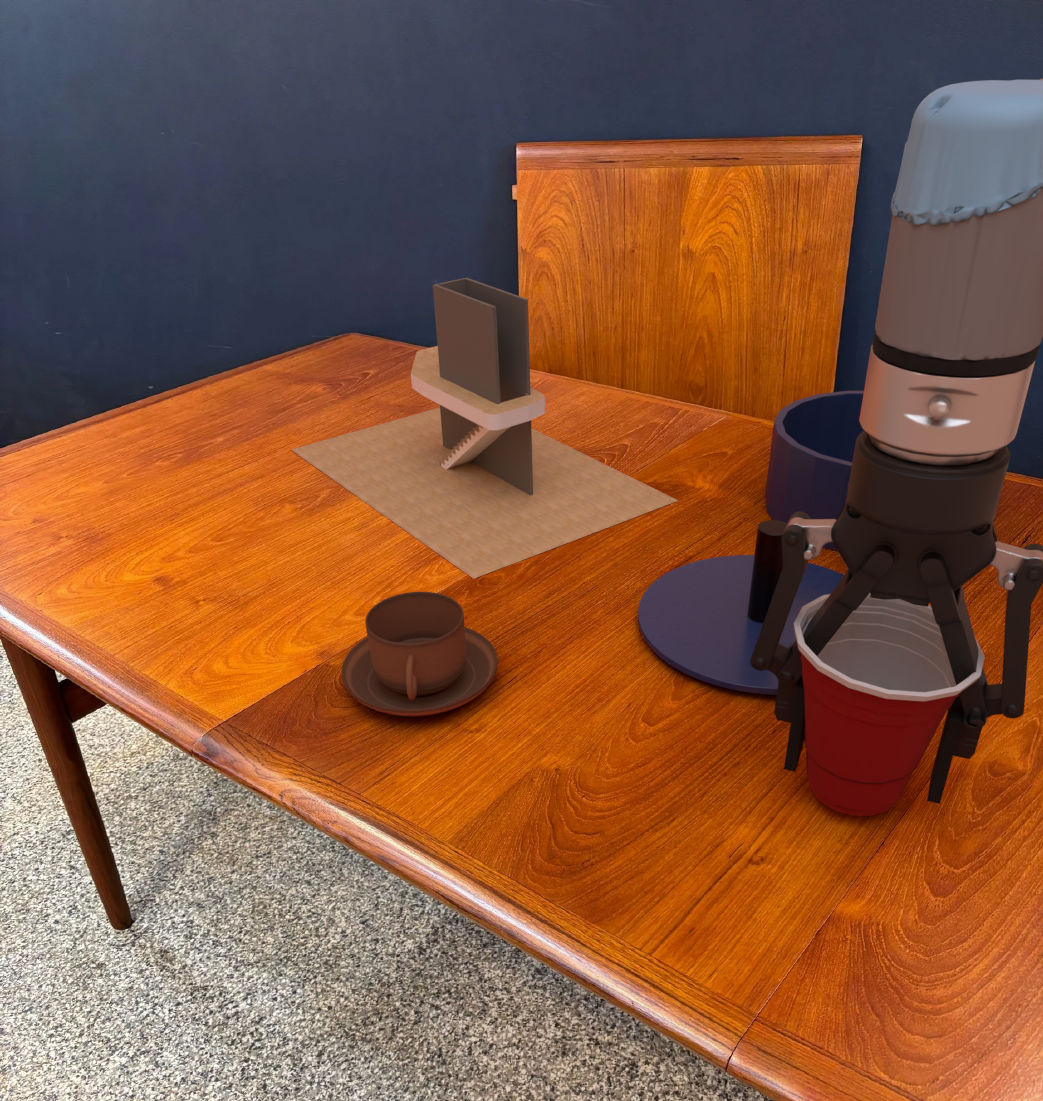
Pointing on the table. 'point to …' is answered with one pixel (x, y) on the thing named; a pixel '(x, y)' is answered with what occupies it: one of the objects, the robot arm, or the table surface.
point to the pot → (813, 456)
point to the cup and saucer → (418, 657)
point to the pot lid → (725, 612)
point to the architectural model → (480, 448)
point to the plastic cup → (873, 701)
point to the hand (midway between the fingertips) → (862, 772)
